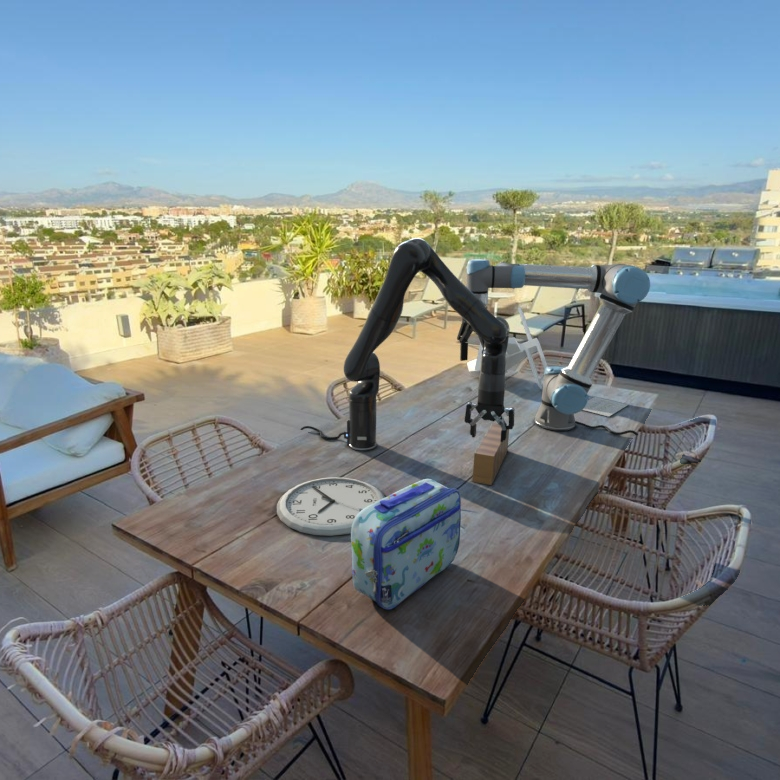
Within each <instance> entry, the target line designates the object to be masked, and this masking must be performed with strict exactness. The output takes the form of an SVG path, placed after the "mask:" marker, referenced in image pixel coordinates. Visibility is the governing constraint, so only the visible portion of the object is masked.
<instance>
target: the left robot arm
mask: <svg viewBox="0 0 780 780" xmlns="http://www.w3.org/2000/svg"><path fill="white" fill-rule="evenodd" d="M420 272H421V273H422V274H423V275H425V276H426V277H428V279H430V280H431V282H433V284H434V285H435V286H436V287H437V289H438V290H439V292H440V294H441V295H442V297H443V298H444V300H445V302H446V303H447V305H448V306H449V307H450V308H451V309H452V310H454V312H456V314H458V315H459V317H461V319H462V318H463V319H465V320H466V321H467V322H468V323H469V324H470V325H471V327H472V328H473V329H474V330H475V332H476V333H477V334H478V335H479V336H480V337H481V338H482V339H483V340H484V341H485V343H484V351H483V354H482V358H481V370H480V376H478V388H477V389H478V390H477V403H473V402H472V401H469V402H467V404H466V406H465V415H464V423H466V424H469V426H470V429H469V430H470V431H469V434H470V436H471V438H475V437H476V436H477V423H478V422H479V421H480V420H481V419H482V420H483V421H490V422H496V423H497V424H499V425H500V426H501V428H502V430H501V440H500V442H503V441H504V440H505V439H506V437H507V430H508V429H509V430H513V428H514V426H515V408H514V407H510V408H508V407H505V404H504V403H505V393H506V392H505V391H506V373H505V368H506V351H507V346H508V340H509V338H510V324H509V322H508V321H507V320H506V319H505V318H504V317H503V316H502V317H501V316H495V315H494V314H493V313H492V312H491V311H489V309H488V308H487V309H486V306H487V305H486V306H485V304H484V303H483V302H482V301H481V300H480V299H479V298H478V297H477V296H476V295H475V294H474V293H472V292H471V291H470V290H469V289H468V288H467V287H466V284H464V283H463V282H462V281H461V280H460V279H459V278H458V277H457V276H456V275H455V274H454V273H453V272H452V271H451V270H450V268H449V267H448V266H447V265H446V264H445V262H443V260H442V259H441V258H440V256H439V255H438V254H437V252H436V251H435V250H434V249H433V248H432V246H431V245H430V244H429V243H428V242H427V241H426V240H424V239H423V238H420V237H414V238H410V239H408V240H406V241H403V242H402V243H399V245H398V246H397V247H396V248H395V249H394V251H393V254H392V257H391V259H390V261H389V265H388V269H387V271H386V276H385V277H384V280H383V283H382V284H381V287H380V289H379V291H378V293H377V295H376V297H375V299H374V301H373V303H372V305H371V308H370V309H369V312H368V314H367V317H366V320H365V321H364V324H363V326H362V328H361V330H360V332H359V334H358V336H357V338H356V340H355V342H354V343H353V345H352V347H351V349H350V350H349V352H348V354H347V355H346V357H345V360H344V363H343V373H344V376H345V378H346V379H347V380H348V381H349V382H353V383H356V384H355V385H354V386H353V387H352V388H351V389H350V390H349V393H348V398H349V399H348V409H349V413H348V414H349V417H348V419H346V430H344V431H342V432H340V433H339V434H338V435H337V436H325V435H323V431H322V430H320V429H319V428H316V427H315V426H311V425H304V426H302V427H301V428H300V429H299V430H300V431H304V430H305V429H310V430H313V431H315V432H317V433H319V437H320V438H321V439H323V440H329V441H331V440H338V439H340V438H341V437H342V436H343V439H345V440H346V446H347V447H349V448H350V449H352V450H354V451H360V452H364V451H365V452H366V451H372V450H374V449H375V448H376V447H377V395H378V393H379V389H380V377H381V376H380V375H381V364H380V360H379V359H380V358H379V357H378V355H377V354H376V353H375V351H376V350H377V349H378V348H379V346H381V345H382V344H383V343H384V342H385V341H386V340H387V339H388V338H389V337H390V336H391V335H392V334H393V332H394V330H395V329H396V326H397V325H398V322H399V321H400V319H401V316H402V314H403V310H404V302H405V296H406V294H407V291H408V289H409V287H410V285H411V284H412V282H413V280H414V278H415V277H416V275H417V274H419V273H420ZM475 332H474V333H475ZM476 333H475V334H476ZM477 334H476V335H477ZM478 335H477V336H478ZM474 410H475V411H477V415H476V416H475V417H474V418H471V417H472V412H473V411H474ZM504 413H505V414H506V417H508V423H507V421H506V419H505V418H504V416H503V414H504Z"/></svg>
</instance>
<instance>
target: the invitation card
mask: <svg viewBox="0 0 780 780" xmlns="http://www.w3.org/2000/svg"><path fill="white" fill-rule="evenodd" d="M628 406H629V404H627V403H623V402H618V401H614V400H609V399H605V398H601V397H596V396H593V397H592V398H590V399H588V401H587V404H586V406H585V407H584V408H583V409H582V410H581V411H584V412H587V413H593V414H596V415H600V416H604V417H608V418H609V417H611V416H613V415H614V414H616V413H617V412H619V411H621V410H623V409H624V408H626V407H628Z"/></svg>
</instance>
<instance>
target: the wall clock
mask: <svg viewBox="0 0 780 780" xmlns="http://www.w3.org/2000/svg"><path fill="white" fill-rule="evenodd" d="M385 497H386V496H385V494H384V493H383V492H382V491H381V490H380V489H379V488H377V487H376V486H374V485H372V484H371V483H369V482H365V481H362V480H359V479H355V478H349V477H338V476H337V477H335V476H333V477H332V476H331V477H322V478H317V479H312V480H307V481H305V482H302V483H299V484H297V485H295V486H293V487H292V488H290V489H288V490H287V491H286V492H285V493H284V494H283V495H281V496H280V498H279V499H278V502H277V503H276V515H277V517H278V518H279V520H280V521H281V522H282V523H283V524H285V525H286V526H287V527H288V528H290V529H293V530H295V531H297V532H299V533H303V534H308V535H312V536H327V537H328V536H329V537H331V536H332V537H333V536H342V535H350V534H351V529H352V524H353V521H354V519H355V517H356V516H357V514H358V513H359V512H360V511H361V510H362V509H364V508H366V507H367V506H369V505H371V504H374V503H375V502H377V501H379V500H381V499H383V498H385Z"/></svg>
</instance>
